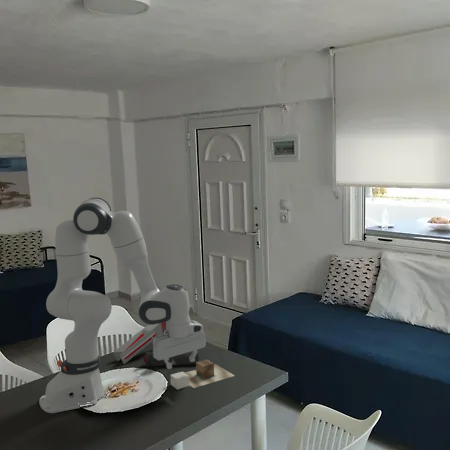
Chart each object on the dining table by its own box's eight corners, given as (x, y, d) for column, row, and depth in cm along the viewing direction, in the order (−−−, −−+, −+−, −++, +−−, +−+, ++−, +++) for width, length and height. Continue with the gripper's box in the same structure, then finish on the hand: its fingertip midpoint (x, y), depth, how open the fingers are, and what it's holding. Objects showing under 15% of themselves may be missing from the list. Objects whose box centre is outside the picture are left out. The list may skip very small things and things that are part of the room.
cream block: (177, 392, 187) (176, 379, 186) (171, 387, 191) (170, 374, 190) (189, 388, 190) (189, 375, 189) (183, 384, 194) (182, 371, 193)
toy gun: (124, 378, 222) (111, 350, 217) (171, 339, 238) (160, 312, 233) (133, 382, 217) (120, 354, 212) (181, 342, 233) (169, 315, 228)
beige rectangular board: (194, 390, 188) (193, 387, 188) (176, 377, 199) (176, 375, 199) (235, 378, 197) (234, 375, 197) (215, 366, 209) (215, 364, 209)
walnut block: (203, 379, 195) (202, 366, 194) (196, 374, 199) (196, 362, 198) (214, 375, 198) (213, 363, 197) (207, 371, 202) (207, 359, 201)
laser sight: (198, 370, 206) (197, 346, 205) (142, 371, 207) (141, 347, 206) (200, 360, 216) (199, 337, 215) (146, 362, 216) (145, 339, 215)
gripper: (156, 338, 179) (158, 375, 181) (206, 324, 189) (208, 360, 192) (148, 333, 184) (151, 369, 186) (198, 320, 195) (200, 354, 197)
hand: (180, 364), depth 189 cm, fingers open, 8 cm apart
